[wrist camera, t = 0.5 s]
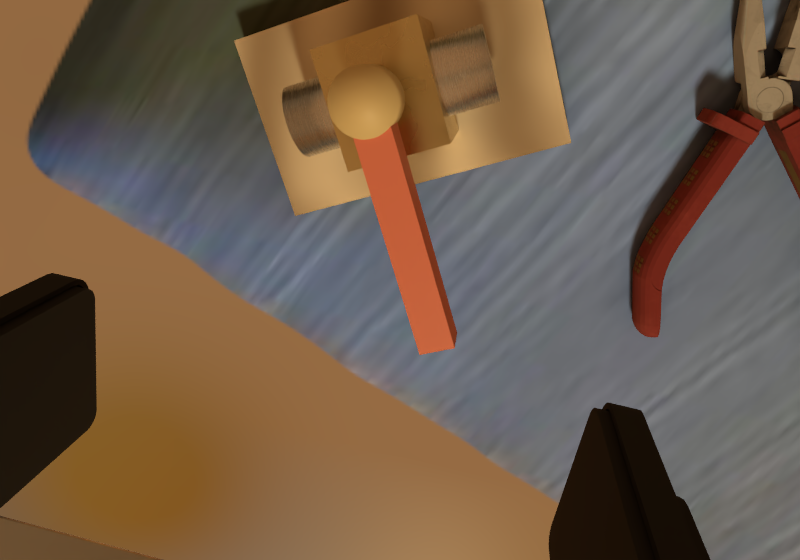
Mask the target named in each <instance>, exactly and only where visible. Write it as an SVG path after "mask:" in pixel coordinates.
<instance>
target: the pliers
mask: <svg viewBox="0 0 800 560" xmlns="http://www.w3.org/2000/svg"><path fill="white" fill-rule="evenodd" d="M764 49H766V37H765V24H764V15H763V7H762V0H740V4H739V10H738V16H737V23H736V29H735V35H734V44H733V56H734V76H735V82H736V83H741V90H740V92H739V95H738V98H737V101H736V104H735V108H734V109H729V111H728V112H727V114H726V115H723V114H720V113H718V112H716V111H713V110H710V109H706V108H703V110H702V111H701V113H700V114H699V116H698V117H697V120H699V121H701V122H703V123H705V124H707V125H709V126H711V127H713V128H715V129H717V130H716V131H715V133H714V134H713V136H712V137H711V139H710V140H709V142H708V143H707V145H706V146H705V148H704V149H703V151H702V152H701V154H700V155H699V157H698V158H697V160H696V161H695V163H694V164H693V166H692V167H691V169H690V170H689V171H688V173H687V174H686V176H685V177H684V179H683V180H682V182H681V183H680V185H679V186H678V188H677V189H676V191H675V192H674V194H673V195H672V197H671V198H670V200H669V201H668V203H667V204H666V206H665V207H664V209H663V210H662V211H661V213H660V214H659V216H658V217H657V219H656V220H655V222H654V223H653V225H652V226H651V228H650V230H649V231H648V233H647V235H646V237H645V238H644V241H643V243H642V245H641V247H640V249H639V251H638V254H637V256H636V259H635V263H634V267H633V289H632V319H633V323H634V325H635V327H636V329H637V330H638V331H639V332H640V333H641V334H643V335H645V336H647V337H658V335H659V331H660V320H661V294H662V285H663V280H664V276H665V273H666V270H667V268H668V265H669V263H670V261H671V259H672V257H673V255H674V253H675V252H676V250H677V248H678V246H679V245H680V244H681V242H682V241H683V239H684V238H685V236H686V235H687V234H688V232H689V231H690V229H691V228H692V227H693V225H694V224H695V222H696V221H697V219H698V218H699V217H700V215H701V214H702V212H703V211H704V210H705V208H706V207H707V205H708V204H709V202H710V201H711V200H712V198H713V197H714V195H715V194H716V193H717V191H718V190H719V188H720V187H721V185H722V184H723V183H724V181H725V180H726V178H727V177H728V175H729V174H730V173H731V171H732V170H733V168H734V167H735V166H736V164H737V163H738V161H739V160H740V158H741V157H742V156H743V154H744V153H745V151H746V150H747V149H748V147H749V146H750V145H752V143H753V142H754V140H755V139H756V137H757V136H758V135H759V131H760V130H761V129H762V127H763V126H765V128H766V130H767V132H768V134H769V136H770V138H771V141H772V143H773V145H774V147H775V149H776V151H777V153H778V155H779V157H780V159H781V161H782V163H783V165H784V167H785V169H786V171H787V174H788V176H789V178H790V180H791V182H792V184H793V186H794V188H795V190H796V192H797V194H798V196H799V198H800V108H799V107H797V106H794V105H793V97H792V89H791V87H790V84H791V81H799V80H800V0H790V3H789V6H788V8H787V11H786V14H785V16H784V19H783V22H782V25H781V28H780V31H779V34H778V37H777V40H776V43H775V46H774V49H777V50H778V51H780V52H781V54H782V56H783V57H782V60H781V63H780V66H779V69H778V71H777V72H776V73H775V74H773V75H770V76H765V62H764ZM761 120H762V121H761Z"/></svg>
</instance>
